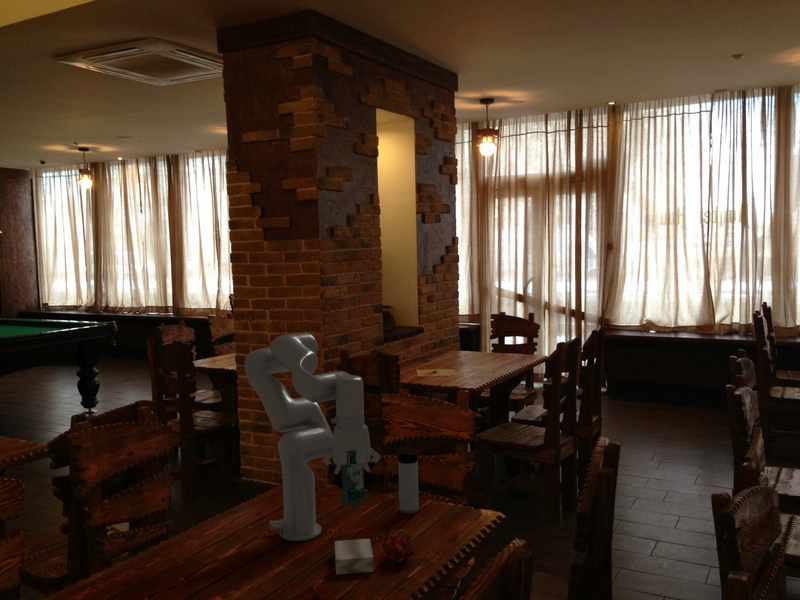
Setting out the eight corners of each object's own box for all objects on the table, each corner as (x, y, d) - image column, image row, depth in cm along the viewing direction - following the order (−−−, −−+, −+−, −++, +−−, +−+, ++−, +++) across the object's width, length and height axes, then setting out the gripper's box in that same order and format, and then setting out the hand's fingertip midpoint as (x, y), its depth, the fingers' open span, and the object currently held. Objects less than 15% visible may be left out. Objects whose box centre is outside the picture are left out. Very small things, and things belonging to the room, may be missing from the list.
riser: (336, 574, 185) (335, 560, 185) (335, 554, 197) (334, 541, 197) (373, 571, 186) (373, 557, 186) (370, 552, 198) (369, 538, 198)
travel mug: (396, 513, 227) (394, 453, 225) (403, 506, 233) (402, 447, 231) (414, 515, 224) (413, 454, 223) (421, 508, 231) (420, 449, 229)
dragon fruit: (400, 553, 200) (401, 579, 189) (376, 538, 199) (375, 563, 188) (417, 531, 199) (419, 556, 187) (393, 516, 198) (393, 540, 186)
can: (355, 507, 187) (353, 452, 186) (337, 503, 190) (335, 449, 189) (368, 499, 192) (366, 446, 191) (350, 496, 195) (348, 443, 194)
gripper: (318, 426, 184) (320, 493, 186) (383, 423, 187) (385, 488, 188) (318, 420, 192) (320, 483, 193) (380, 416, 194) (382, 479, 195)
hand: (352, 485), depth 190 cm, fingers closed on can, 6 cm apart
